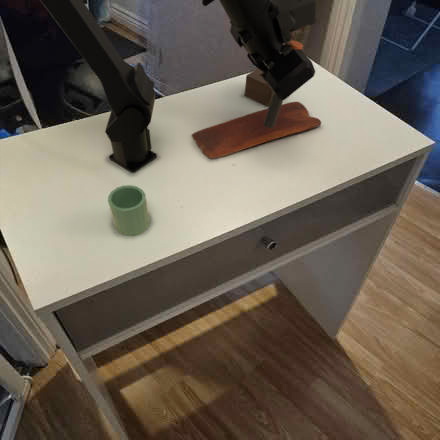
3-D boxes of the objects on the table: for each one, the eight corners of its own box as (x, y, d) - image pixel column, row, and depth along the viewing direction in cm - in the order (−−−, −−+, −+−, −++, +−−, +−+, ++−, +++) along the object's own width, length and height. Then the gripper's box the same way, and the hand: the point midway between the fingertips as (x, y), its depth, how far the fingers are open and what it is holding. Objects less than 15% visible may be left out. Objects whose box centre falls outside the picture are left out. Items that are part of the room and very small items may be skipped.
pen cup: (131, 241, 62) (126, 215, 57) (107, 224, 64) (100, 198, 59) (156, 221, 65) (153, 196, 60) (132, 206, 66) (127, 180, 62)
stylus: (267, 129, 72) (295, 47, 60) (261, 122, 72) (287, 40, 61) (276, 127, 72) (305, 46, 61) (269, 120, 73) (297, 40, 62)
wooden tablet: (296, 104, 86) (298, 96, 85) (323, 128, 81) (325, 120, 80) (186, 133, 79) (186, 126, 77) (209, 162, 74) (209, 154, 72)
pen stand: (269, 107, 85) (272, 86, 81) (244, 96, 87) (246, 75, 84) (286, 94, 88) (290, 74, 85) (261, 84, 91) (264, 63, 87)
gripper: (333, -5, 47) (359, 85, 60) (269, -64, 56) (304, 26, 69) (257, 60, 51) (297, 132, 64) (208, -5, 60) (252, 70, 73)
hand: (288, 87), depth 67 cm, fingers closed on stylus, 2 cm apart
